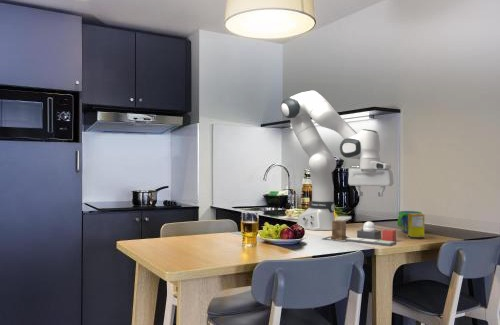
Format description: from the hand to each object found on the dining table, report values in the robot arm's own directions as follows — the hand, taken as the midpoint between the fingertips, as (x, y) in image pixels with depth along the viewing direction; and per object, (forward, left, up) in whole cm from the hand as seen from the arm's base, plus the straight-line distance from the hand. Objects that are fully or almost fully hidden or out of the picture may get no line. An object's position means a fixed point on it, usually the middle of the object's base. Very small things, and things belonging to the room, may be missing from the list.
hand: (370, 196), depth 204 cm
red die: (+9, -1, -19) cm, 21 cm away
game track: (+4, -11, -19) cm, 22 cm away
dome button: (0, -1, -17) cm, 17 cm away
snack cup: (+9, +30, -19) cm, 37 cm away
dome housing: (0, -1, -19) cm, 19 cm away
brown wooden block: (-10, -11, -19) cm, 24 cm away
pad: (-10, -11, -19) cm, 24 cm away
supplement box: (+16, +15, -19) cm, 29 cm away
